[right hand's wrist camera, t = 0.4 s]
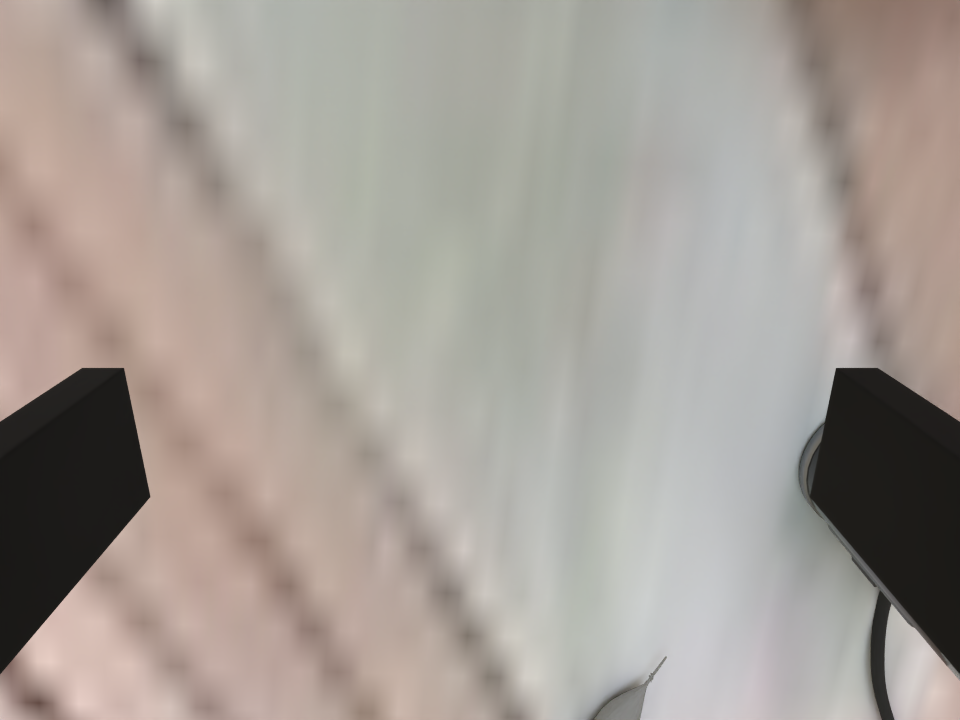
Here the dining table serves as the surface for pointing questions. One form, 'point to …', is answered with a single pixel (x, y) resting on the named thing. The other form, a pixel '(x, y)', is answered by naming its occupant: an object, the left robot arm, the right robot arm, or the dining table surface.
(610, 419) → the dining table surface
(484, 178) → the dining table surface
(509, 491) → the dining table surface
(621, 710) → the airplane
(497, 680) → the dining table surface
